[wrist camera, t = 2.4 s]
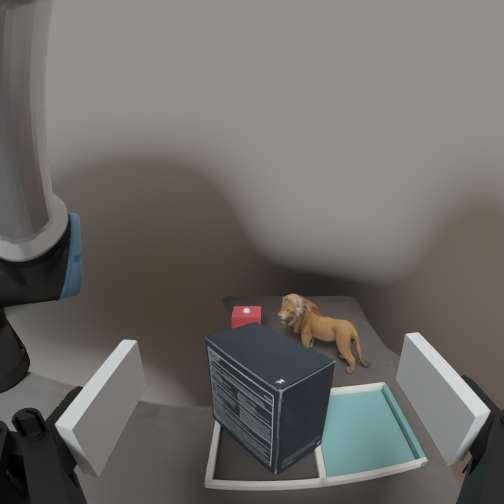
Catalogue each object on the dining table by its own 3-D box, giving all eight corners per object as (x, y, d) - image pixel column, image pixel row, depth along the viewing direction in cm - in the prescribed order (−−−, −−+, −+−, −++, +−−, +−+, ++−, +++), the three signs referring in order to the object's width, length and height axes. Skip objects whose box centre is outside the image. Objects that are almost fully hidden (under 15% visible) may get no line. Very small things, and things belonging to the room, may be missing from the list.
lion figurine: (272, 352, 44) (272, 297, 42) (289, 338, 48) (290, 286, 46) (364, 378, 36) (375, 318, 34) (374, 359, 40) (384, 303, 38)
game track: (205, 488, 20) (204, 483, 20) (221, 395, 34) (221, 390, 34) (424, 465, 19) (427, 460, 19) (383, 386, 33) (385, 381, 33)
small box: (326, 442, 24) (340, 358, 22) (275, 477, 20) (279, 394, 18) (258, 396, 33) (257, 317, 30) (211, 417, 29) (201, 336, 26)
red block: (232, 342, 47) (231, 313, 46) (235, 329, 51) (233, 302, 50) (260, 342, 47) (260, 313, 46) (261, 329, 51) (260, 302, 50)
